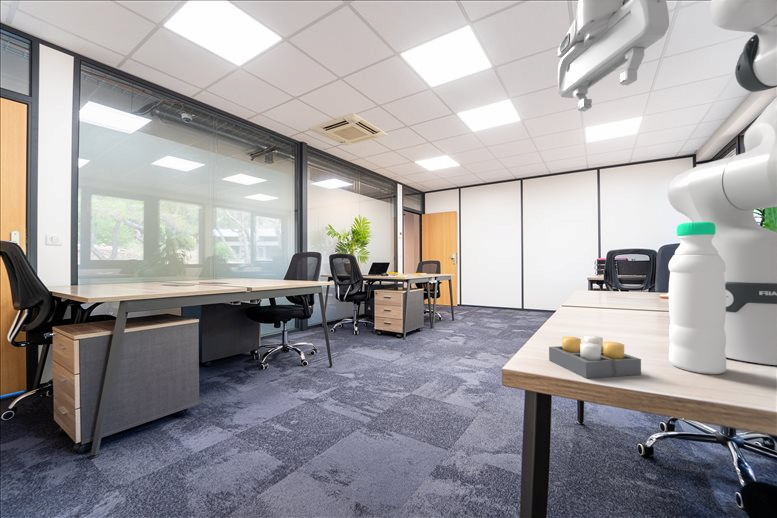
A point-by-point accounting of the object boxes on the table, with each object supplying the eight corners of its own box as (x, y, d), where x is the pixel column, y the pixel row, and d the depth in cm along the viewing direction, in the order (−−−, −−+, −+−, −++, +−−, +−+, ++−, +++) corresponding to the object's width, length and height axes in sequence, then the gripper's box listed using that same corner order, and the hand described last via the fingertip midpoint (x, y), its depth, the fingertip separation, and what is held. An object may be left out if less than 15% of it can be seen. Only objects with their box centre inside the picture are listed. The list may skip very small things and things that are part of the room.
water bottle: (700, 361, 57) (699, 224, 57) (739, 376, 50) (738, 219, 50) (658, 360, 58) (657, 225, 58) (691, 374, 51) (690, 220, 51)
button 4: (614, 356, 55) (613, 341, 55) (628, 362, 52) (628, 345, 52) (599, 357, 55) (599, 342, 55) (613, 363, 52) (613, 346, 52)
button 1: (572, 350, 59) (572, 336, 59) (584, 355, 56) (584, 340, 56) (558, 351, 58) (558, 336, 58) (570, 356, 55) (569, 340, 55)
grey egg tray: (596, 357, 60) (596, 344, 60) (641, 374, 51) (640, 359, 51) (549, 360, 59) (549, 346, 59) (586, 378, 50) (586, 362, 50)
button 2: (591, 358, 54) (591, 342, 54) (605, 363, 51) (605, 347, 51) (576, 359, 54) (576, 343, 54) (589, 364, 51) (589, 348, 51)
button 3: (594, 349, 59) (593, 335, 59) (606, 354, 56) (606, 339, 56) (580, 350, 59) (580, 335, 59) (592, 354, 56) (592, 339, 56)
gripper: (681, -30, 47) (681, 63, 47) (578, 57, 67) (578, 122, 67) (644, -36, 46) (644, 59, 46) (551, 54, 66) (551, 120, 66)
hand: (604, 97), depth 57 cm, fingers open, 8 cm apart
